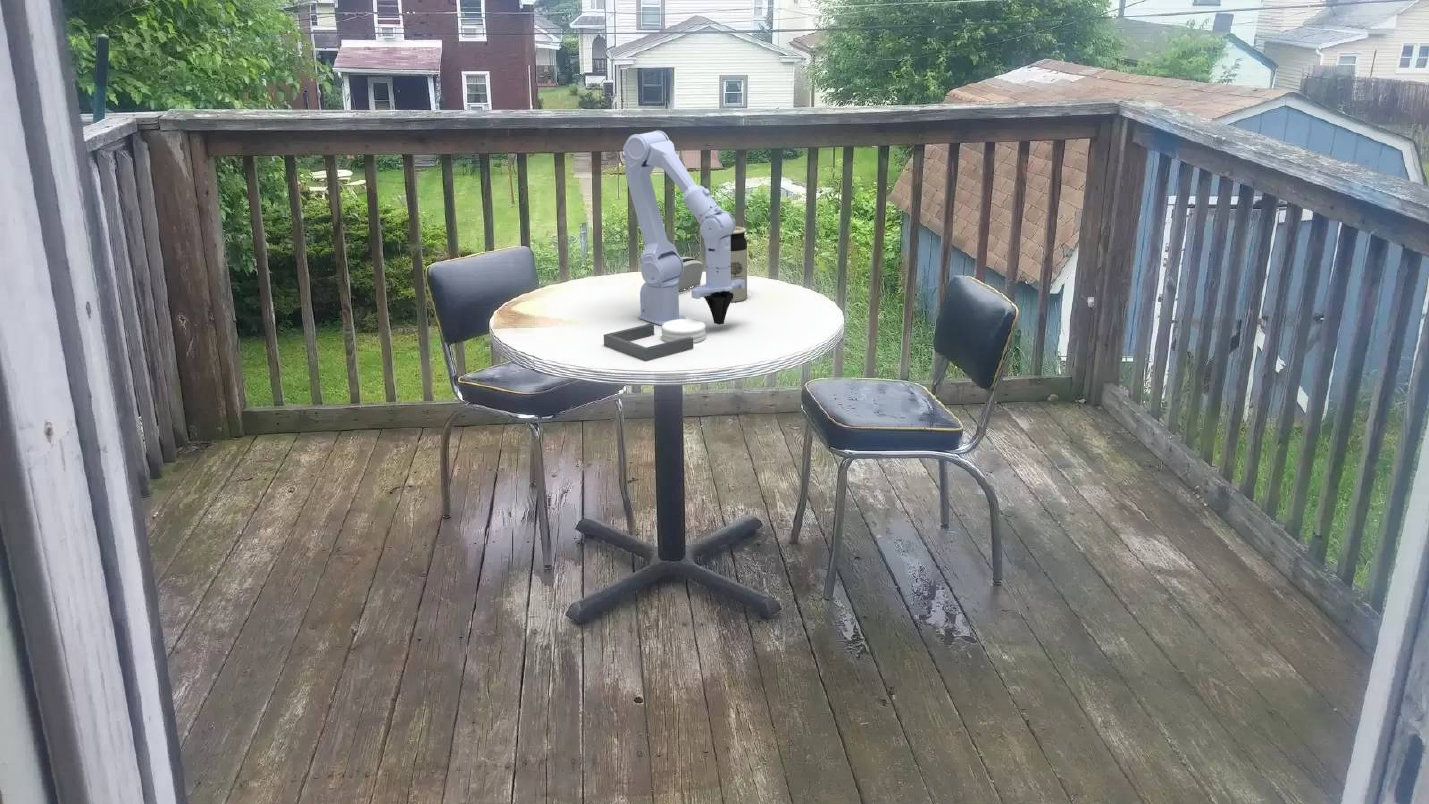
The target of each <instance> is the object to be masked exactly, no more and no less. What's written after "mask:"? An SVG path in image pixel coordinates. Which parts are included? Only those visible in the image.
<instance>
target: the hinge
mask: <svg viewBox="0 0 1429 804" xmlns="http://www.w3.org/2000/svg"><path fill="white" fill-rule="evenodd" d="M680 257H681V258H682V260H683V263H684V271H683V274H682V275H681V276H680V277H679V282H678V291H681V292H683V291H682V290H684V289H687V288H690V287H692V286H696V285H699V286H700V284H701V281H702V276H703V270H704V263H702V261H700V260H698V259H697V258H694V257H690V256H683V257H682V256H680ZM696 287H697V286H696ZM690 289H691V288H690ZM687 290H688V289H687ZM684 291H685V290H684Z"/></svg>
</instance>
